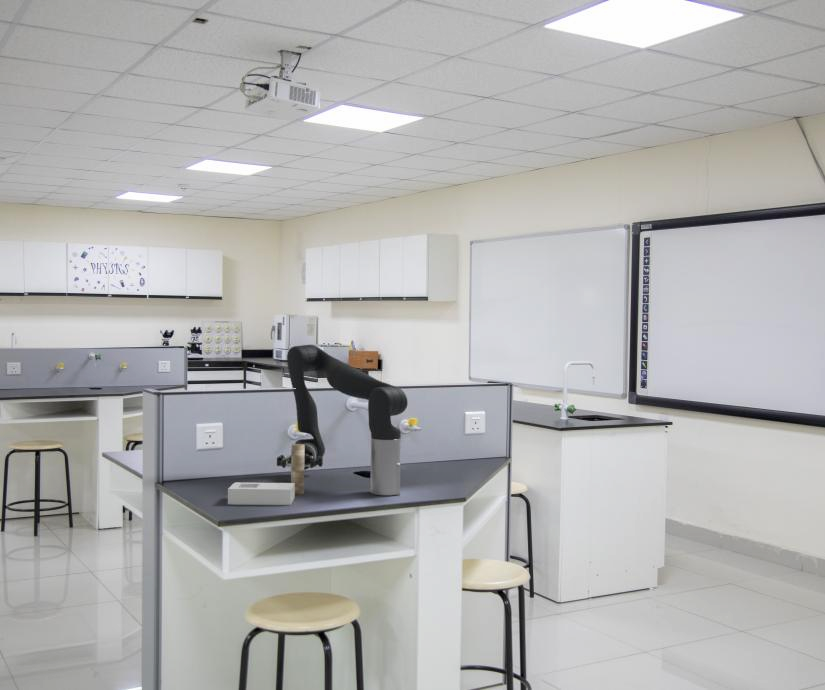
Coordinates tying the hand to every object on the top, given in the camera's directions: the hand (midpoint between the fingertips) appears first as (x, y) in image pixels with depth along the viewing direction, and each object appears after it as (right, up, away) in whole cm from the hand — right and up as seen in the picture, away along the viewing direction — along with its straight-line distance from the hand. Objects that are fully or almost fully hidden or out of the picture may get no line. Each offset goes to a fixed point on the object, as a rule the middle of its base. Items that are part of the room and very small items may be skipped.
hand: (297, 464), depth 259 cm
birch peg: (0, -9, +1) cm, 9 cm away
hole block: (-9, -9, -11) cm, 17 cm away
